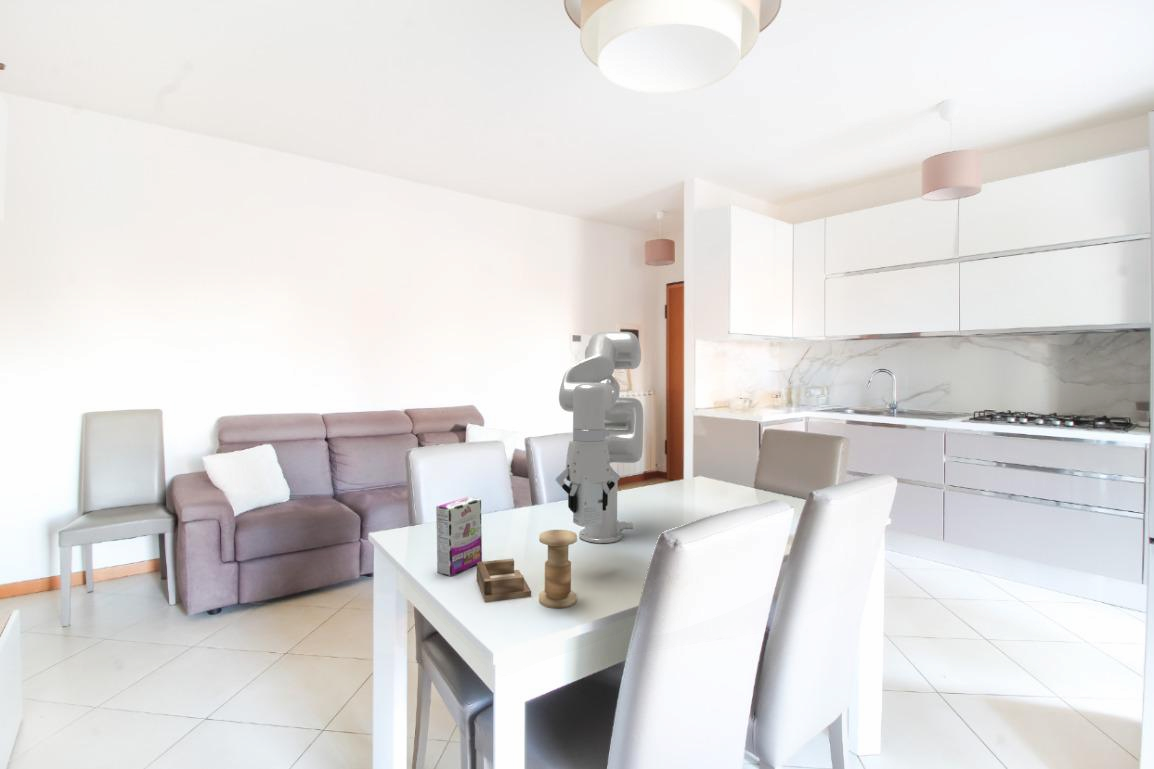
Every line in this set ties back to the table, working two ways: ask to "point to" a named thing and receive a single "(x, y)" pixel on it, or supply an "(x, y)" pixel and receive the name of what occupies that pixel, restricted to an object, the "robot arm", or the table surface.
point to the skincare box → (589, 503)
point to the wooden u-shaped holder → (501, 580)
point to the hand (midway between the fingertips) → (587, 509)
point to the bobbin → (557, 569)
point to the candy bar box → (458, 535)
